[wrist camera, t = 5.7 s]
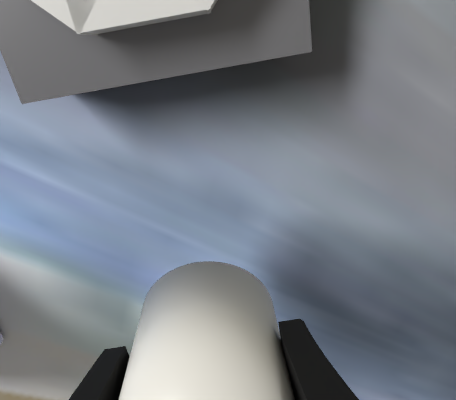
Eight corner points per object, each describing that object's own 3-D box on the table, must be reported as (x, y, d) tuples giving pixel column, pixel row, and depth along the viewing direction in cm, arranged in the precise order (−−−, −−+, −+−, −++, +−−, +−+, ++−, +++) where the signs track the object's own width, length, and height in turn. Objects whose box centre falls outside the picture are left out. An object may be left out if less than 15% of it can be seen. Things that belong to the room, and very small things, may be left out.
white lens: (279, 353, 13) (331, 588, 7) (160, 372, 13) (121, 617, 7) (265, 250, 11) (319, 462, 5) (126, 273, 11) (42, 501, 6)
